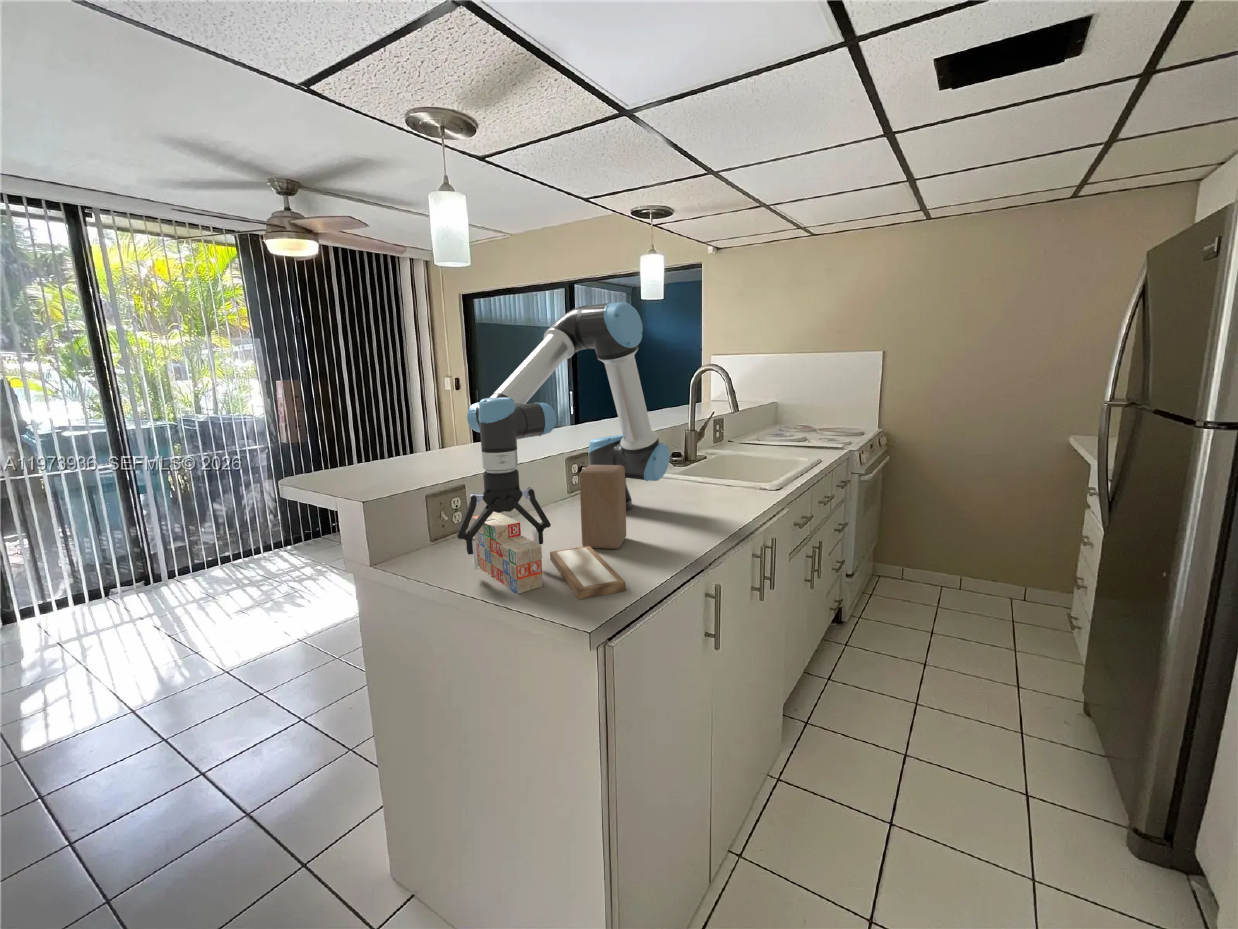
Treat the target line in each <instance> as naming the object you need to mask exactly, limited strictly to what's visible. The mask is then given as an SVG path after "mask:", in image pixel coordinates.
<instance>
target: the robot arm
mask: <svg viewBox="0 0 1238 929" xmlns="http://www.w3.org/2000/svg"><path fill="white" fill-rule="evenodd" d="M642 322H643V321H642V319H641V316H640V314H639V312H638V310H637V309H636V308H635V307H634V306H632V305H631V304H630V303H628V302H614V301H612V302H606V303H598V304H590V305H581V306H578V307H575V308H573V309H570V311H568V312H566V313H565V314H564V315H562V316H561V317H559V318H558V319H557V320H555V322H554V323H553V324H552V325H551V326H550V327H549V328H548V329H547V330H546V331H545V332H544V334H543V340H542V341H541V342H540V343H539V344H538V345H537V346H536V347H535V348H534V349H533V350H532V351H531V353H530V354H529V355H528V356H526V358H524V360H522V362H521V363H520V364H519V365H518V366H517V368H515V370H514V371H513V372H512V373H511V374H510V375H509V376H508V378H506V380H504V381H503V383H501V385H500V386H499V387H498V388H497V389H496V390H495V391H494V392H493V394H492V395H491V396H490V397H485V398H482V399H480V401H479V402H475V403H473V404H471V405H470V406H469V407H468V409H467V410H468V411H467V412H466V421H467V424H468V426H469V427H470V429H472V430H473V431H474V432H476V433H479V437H480V446H481V461H482V462H481V463H482V469H483V470H484V472H483V473H482V475H483V478H482V479H483V489H484V490H483V493H482V494H475V493H474V492H471V493H470V494H469V500H468V502H469V503H468V506H467V507H466V511H465V512H464V515H463V517H462V518H461V519H462V520H461V522H460V524H459V527H458V528H457V532H456V536H457V539H458V540H465V543H466V552H467V554H468V555H472V566H473V570H479V567H478V561H477V548H476V539H475V537H474V536H475V535H476V533H477V532H478V531H479V529H480V528H481V527H482V525H483V524H484V523H485V521H486V520H487V518H488V517H489V516H490V515H491V514H492V513H493V512H497V513H500V514H502V513H503V512H507V513H509V512H512V511H513V510H514V509H515V511H517V512H518V513H519V514H520V515H521V516H522V517H523V518H524V519H526V520H527V522H529V523H530V524H531V525H532V526H533V527H534V528H533V529H532V541H534V542H535V543H537V544H540V545H543V543H544V531H545V529H547V528H549V529H550V527H551V525H552V524H551V522H550V520H549V519H548V517H547V515H546V514H545V512H544V510H543V509H542V507H541V506H540V503H539V502H538V500H537V499H536V493H535V490H534V489H533V488H532V487H530V486H529V487H527V489H521V488H520V487H521V486H520V475H519V470H518V469H517V468H518V467H519V459H518V458H519V457H518V440H521V439H526V438H533V437H542V436H544V435H548V434H550V433H551V432H553V430H554V429H555V426H556V423H557V418H556V417H557V416H556V412H555V410H554V409H553V407H552V406H551V405H550V404H548V403H546V402H533V403H527V402H529V400H530V399H531V398H532V397H533V396H534V395H535V394H536V392H538V390H539V389H540V388H541V387H542V385H543V384H544V383H545V382H546V381H547V380H548V379H549V378H550V376H551V375H552V374H553V372H555V370H557V369H558V367H559V366H560V365H561V363H562V362H564V360H568V359H571V358H572V357H573V356H574V355H575V353H578V352H579V351H582V350H592V349H593V350H594V351H595V354H596V358H597V360H598V361H600V362H602V363H603V364H604V368H605V370H606V375H607V379H608V382H609V386H610V390H611V395H612V398H613V402H614V406H615V410H616V414H617V417H618V422H619V424H620V425H619V426H620V428H621V434H618V435H609V436H602V437H596V438H593V439H591V440H590V441H589V443H588V462H589V465H622V466H624V468H625V497H626V511H628V510H630V509H632V507H633V500H632V496H631V494H630V490H629V488H628V485H627V479H632V480H639V481H646V482H648V481H649V482H650V481H651V482H656V481H657V482H658V481H660V480H661V479H662V478H663V477H664V476H665V475H666V473H667V470H668V468H669V465H670V460H671V451H670V448H669V446H668V445H667V444H666V443H664V442H660V440H659V435H658V433H657V432H656V431H654V430H652V426H651V423H650V418H649V414H648V409H647V405H646V401H645V397H644V392H643V388H642V384H641V378H640V373H639V370H638V366H637V362H636V357H635V355H636V354H637V352H638V350H639V344H640V343H641V341H642V338H643V332H644V331H643V330H644V329H643V328H644V327H643V323H642ZM589 465H588V466H589ZM523 496H524V498H525V499H527V500H529V502H530V503H531V506H532V507H533V509H534V510H535V511H536V512H535V513H536V514H537V516H538V517H539V519H540V521H541V522H540V523H539V521H537V520H536V519H535V518H534V517H533V516H532V515H531V514H530V513H529V512H528V511H527V510H526V509H525V508H524V507H523V506H522V505H521V504H520V503H519V502H520V501H521V499H522V497H523ZM481 501H483V502H484V503H485V504H486V505H485V506H484V508H483V510H482V511H481V512H480V514H479V515H480V516H479V517H478V518H477V520H476V521H475V522H474V524H473V523H472V525H471V526H470V527H469V529H468V526H469V525H470V524H471V523H470V522H471V520H472V517H474V513H475V510H476V508H477V506H478V505H480V503H481ZM467 529H468V530H467Z"/></svg>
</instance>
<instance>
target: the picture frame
mask: <svg viewBox="0 0 1238 929" xmlns="http://www.w3.org/2000/svg"><path fill="white" fill-rule="evenodd" d="M549 560H550V561H551V563H552V565H554V567H555V568H556V569H557V572H558V573H559V574H560V575H561V577H562V578H563V580H564V581H565V583H566V584H567V585H568V586H569V588H570V589H571V590H572V592H573V593H574V595H575V596H576V598H577V599H578V600H583V599H587V598H593V597H599V596H605V595H609V594H614V593H616V594H617V593H621V592H626V591H627V590H626V588H627V587H626V581H625V580H624V579H623V578H622V577H621V575H619V573H617V572H616V570H614V569H613V568H612V567H611V566H610V565H609V564H608V563H607V561H606V560H604V559H603V558H602V556H600V555H599V554H598V552H597V551H596V550H595V549H594V548H591V547H590V546H586V547H583V546H580V547H572V548H566V549H560V550H553V551H552V550H551V551H550V552H549Z"/></svg>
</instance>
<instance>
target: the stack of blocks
mask: <svg viewBox="0 0 1238 929" xmlns="http://www.w3.org/2000/svg"><path fill="white" fill-rule="evenodd" d="M479 516H480V514H478V515H473V516H472V518H471V520H472V525H473V524H474V522H475V521H476V520H477V518H478V517H479ZM474 537H475V539H476V548H477V561H478V566H479V567H480V568H479V567H478V568H479V569H482V571H483V570H484V571H485V573H486V572H487V573H488V574H489V576H490V575H491V576H493V577H494V579H495V578H496V579H495V580H496V581H498V580H499V581H498V582H500V583H501V582H502V583H501V584H503V586H505V587H506V588H508V589H509V590H510V591H512V592H514V593H515V594H517V595H518V594H522V593H525V592H528V591H532V590H535V589H538V588H541V587H543V584H544V583H543V581H544V580H543V562H542V561H543V560H542V558H543V551H542V544H537V543H535V542H534V541H533V539H532V540H531V539H530V538H527V537H526V536H524V535H522V532H521V522H520V521H518V520H516V519H513V518H511V517H508V516H507V515H504V514H502V513H497V512H494V511H493V513H492V514H491V515H490V516H489V517H488V518H487V520H486V521H485V523H484V524H483V525H482V527H481V528H480V529H479V531H478V532H477V533H476V535H475V536H474ZM484 571H483V572H484ZM487 573H486V574H487ZM488 574H487V575H488ZM491 576H490V577H491ZM493 577H492V578H493Z"/></svg>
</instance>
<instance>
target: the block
mask: <svg viewBox="0 0 1238 929" xmlns="http://www.w3.org/2000/svg"><path fill="white" fill-rule="evenodd" d="M578 475H579V495H580V497H579V499H580V522H581V523H580V525H581V526H580V527H581V528H580V529H581V544H582V547H586V546H590V547H591V548H592V549H609V550H618V549H620V548H621V546H622V545H623V542H624V541H625V540H626V537H627V510H626V497H625V468H624V466H622V465H588V466H586V467H585V468H584V469H582V470H581V471H580V472H579V474H578Z"/></svg>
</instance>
